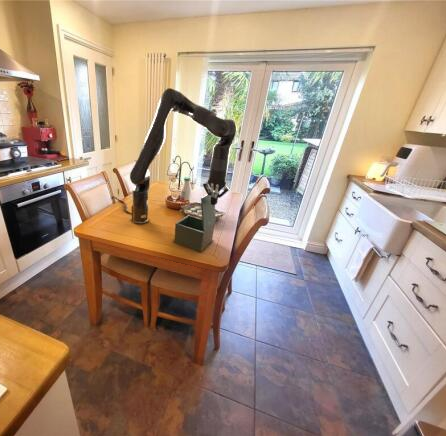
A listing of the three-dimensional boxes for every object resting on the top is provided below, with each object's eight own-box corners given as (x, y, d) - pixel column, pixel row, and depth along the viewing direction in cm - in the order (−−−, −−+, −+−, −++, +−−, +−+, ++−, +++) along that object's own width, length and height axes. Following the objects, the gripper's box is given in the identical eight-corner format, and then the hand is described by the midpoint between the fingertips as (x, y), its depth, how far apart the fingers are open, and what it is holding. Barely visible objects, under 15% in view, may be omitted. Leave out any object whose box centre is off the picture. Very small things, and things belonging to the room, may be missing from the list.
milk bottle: (189, 202, 176) (191, 176, 168) (190, 206, 169) (193, 179, 161) (179, 202, 176) (181, 176, 168) (180, 206, 169) (182, 179, 161)
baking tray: (172, 213, 157) (173, 205, 155) (192, 205, 172) (192, 198, 169) (210, 228, 139) (212, 220, 137) (228, 217, 154) (230, 210, 151)
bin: (174, 241, 123) (175, 223, 119) (186, 232, 134) (188, 214, 129) (200, 251, 116) (203, 232, 111) (212, 240, 126) (214, 222, 121)
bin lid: (200, 198, 105) (202, 198, 105) (212, 190, 116) (214, 190, 115) (202, 231, 111) (204, 232, 110) (214, 221, 121) (215, 222, 121)
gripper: (236, 169, 103) (229, 205, 110) (208, 164, 109) (204, 199, 117) (230, 172, 97) (223, 210, 104) (201, 167, 103) (197, 203, 111)
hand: (213, 204), depth 110 cm, fingers closed
